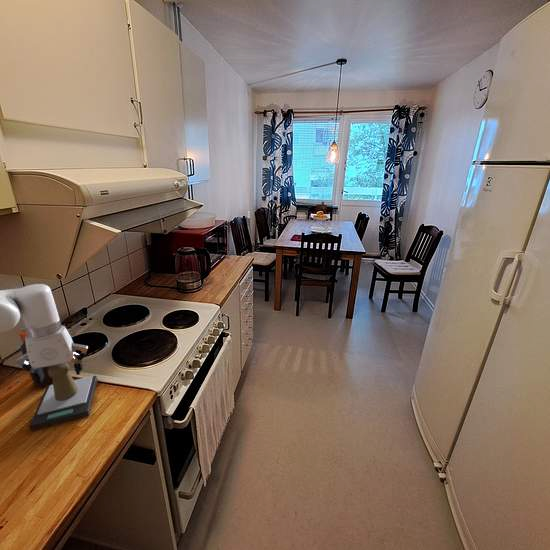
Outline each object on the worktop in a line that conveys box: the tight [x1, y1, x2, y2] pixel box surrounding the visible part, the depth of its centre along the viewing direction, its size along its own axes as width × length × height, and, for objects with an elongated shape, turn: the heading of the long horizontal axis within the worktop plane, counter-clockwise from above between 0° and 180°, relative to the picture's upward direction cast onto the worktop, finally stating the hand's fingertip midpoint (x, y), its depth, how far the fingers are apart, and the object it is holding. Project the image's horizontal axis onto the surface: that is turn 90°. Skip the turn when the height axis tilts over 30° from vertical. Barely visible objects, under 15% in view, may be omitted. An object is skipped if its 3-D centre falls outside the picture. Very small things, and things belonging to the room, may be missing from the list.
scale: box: [28, 375, 99, 432], centre depth 88 cm, size 14×16×2 cm
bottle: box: [18, 330, 53, 388], centre depth 94 cm, size 7×7×20 cm
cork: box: [48, 362, 78, 401], centre depth 87 cm, size 6×6×11 cm
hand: (60, 375), depth 86 cm, fingers open, 9 cm apart
